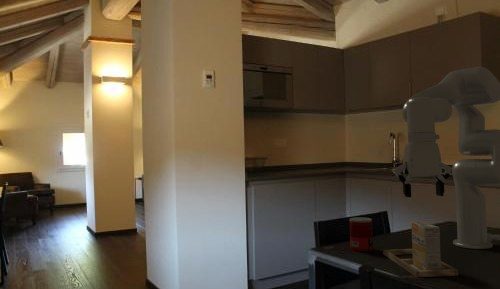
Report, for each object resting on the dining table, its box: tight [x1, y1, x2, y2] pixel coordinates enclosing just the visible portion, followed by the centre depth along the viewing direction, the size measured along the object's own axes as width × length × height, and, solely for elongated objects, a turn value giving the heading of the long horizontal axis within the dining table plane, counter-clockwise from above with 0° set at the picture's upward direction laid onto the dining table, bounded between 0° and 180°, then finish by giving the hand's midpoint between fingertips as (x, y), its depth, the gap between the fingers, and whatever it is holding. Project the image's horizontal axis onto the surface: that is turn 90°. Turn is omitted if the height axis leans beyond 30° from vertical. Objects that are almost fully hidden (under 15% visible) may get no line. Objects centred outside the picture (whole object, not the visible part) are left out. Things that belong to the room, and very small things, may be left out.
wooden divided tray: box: [382, 248, 459, 278], centre depth 123 cm, size 12×25×2 cm, turn 2°
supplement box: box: [411, 221, 442, 270], centre depth 117 cm, size 8×5×13 cm, turn 4°
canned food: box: [349, 216, 374, 252], centre depth 143 cm, size 8×8×11 cm
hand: (423, 196), depth 118 cm, fingers open, 9 cm apart
